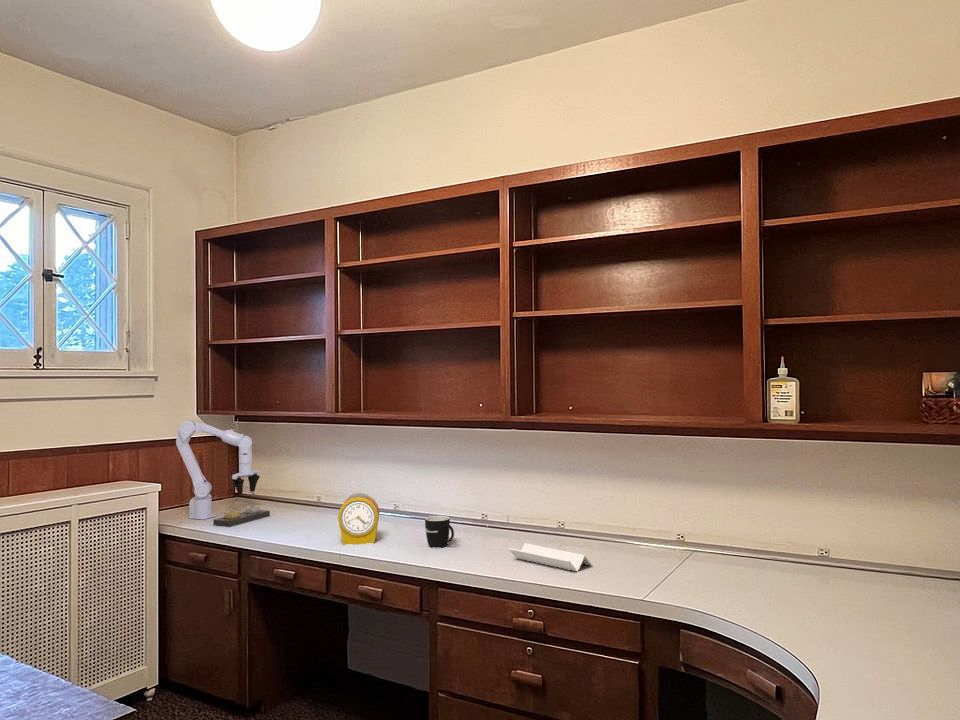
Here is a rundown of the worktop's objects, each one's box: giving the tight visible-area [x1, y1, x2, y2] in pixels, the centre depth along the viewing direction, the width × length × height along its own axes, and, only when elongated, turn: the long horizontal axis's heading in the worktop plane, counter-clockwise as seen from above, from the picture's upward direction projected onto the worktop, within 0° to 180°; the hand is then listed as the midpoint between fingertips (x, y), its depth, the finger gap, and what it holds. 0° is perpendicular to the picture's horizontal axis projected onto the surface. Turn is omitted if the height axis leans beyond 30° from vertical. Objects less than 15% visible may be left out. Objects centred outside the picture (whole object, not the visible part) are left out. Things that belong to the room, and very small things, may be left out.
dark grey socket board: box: [212, 509, 271, 528], centre depth 320 cm, size 9×24×2 cm, turn 153°
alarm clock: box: [337, 492, 380, 546], centre depth 277 cm, size 15×8×18 cm, turn 95°
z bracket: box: [507, 542, 594, 572], centre depth 242 cm, size 12×25×6 cm
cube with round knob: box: [244, 505, 261, 514], centre depth 325 cm, size 4×4×5 cm
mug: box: [424, 515, 455, 548], centre depth 267 cm, size 12×9×10 cm
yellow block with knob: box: [223, 510, 241, 520], centre depth 314 cm, size 4×4×5 cm
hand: (246, 492), depth 332 cm, fingers open, 7 cm apart
